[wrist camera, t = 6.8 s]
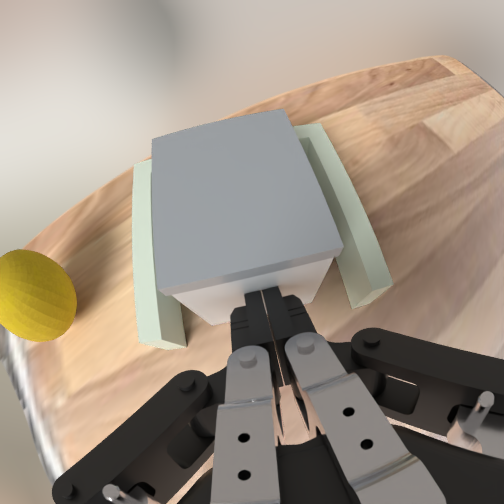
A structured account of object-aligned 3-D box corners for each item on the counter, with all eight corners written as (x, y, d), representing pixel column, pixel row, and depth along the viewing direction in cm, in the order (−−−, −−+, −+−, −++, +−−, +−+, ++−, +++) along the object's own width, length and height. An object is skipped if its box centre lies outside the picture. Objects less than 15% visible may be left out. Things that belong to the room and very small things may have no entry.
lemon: (97, 270, 18) (24, 217, 11) (99, 347, 16) (11, 322, 9) (46, 283, 18) (-24, 241, 11) (46, 350, 16) (-35, 328, 9)
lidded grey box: (282, 202, 19) (283, 108, 12) (313, 303, 16) (343, 246, 9) (194, 223, 19) (152, 139, 12) (210, 327, 16) (157, 289, 9)
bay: (314, 161, 21) (320, 122, 17) (369, 303, 16) (393, 284, 12) (154, 197, 20) (134, 164, 17) (168, 350, 16) (139, 342, 12)
